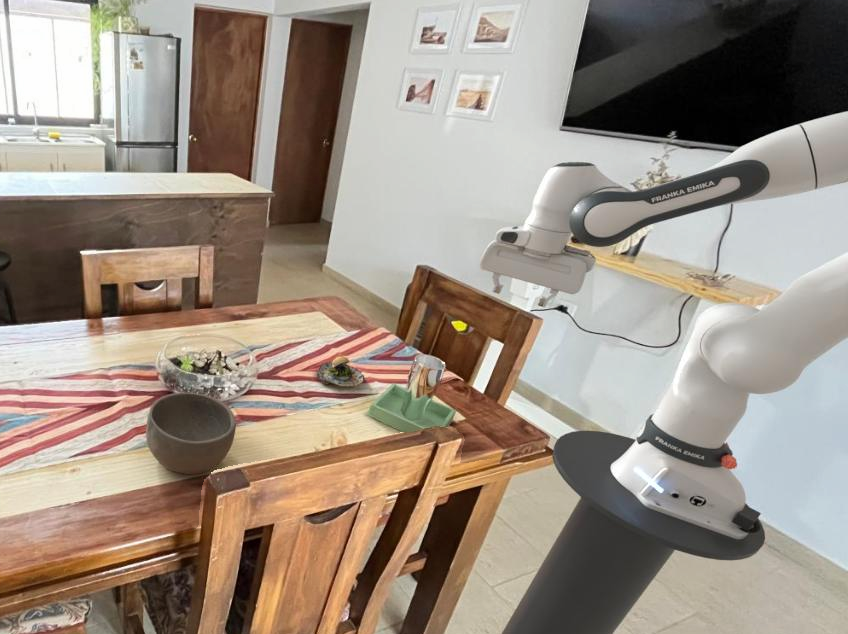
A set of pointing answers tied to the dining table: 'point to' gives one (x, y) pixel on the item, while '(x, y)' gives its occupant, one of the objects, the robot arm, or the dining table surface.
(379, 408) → the serving tray
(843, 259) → the robot arm
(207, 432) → the bowl
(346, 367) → the burger
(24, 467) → the dining table surface
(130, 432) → the dining table surface
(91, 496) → the dining table surface
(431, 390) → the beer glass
